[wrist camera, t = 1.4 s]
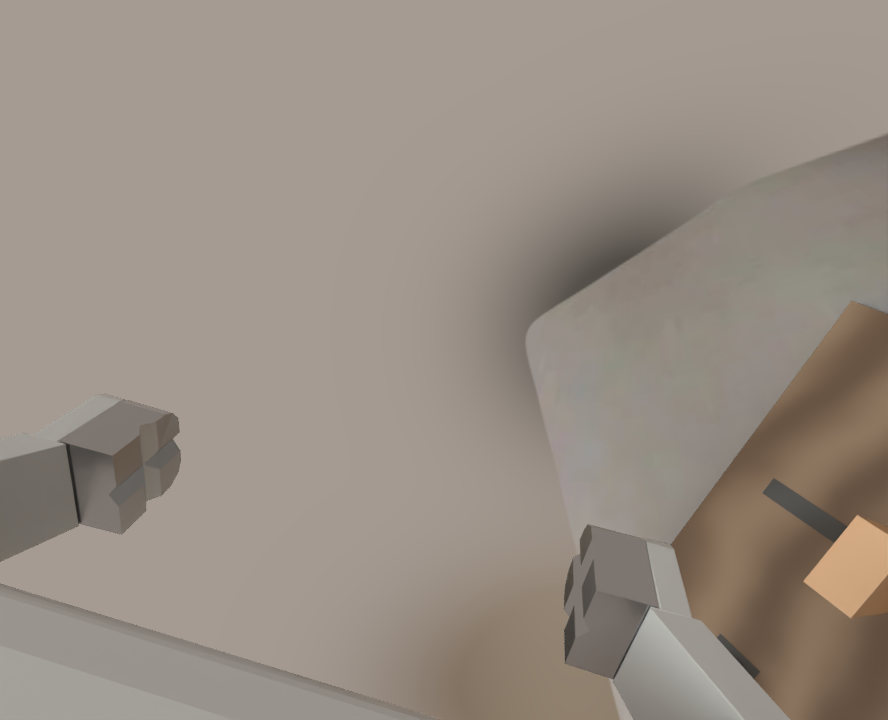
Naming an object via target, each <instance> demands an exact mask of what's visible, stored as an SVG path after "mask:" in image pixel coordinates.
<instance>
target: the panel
mask: <svg viewBox="0 0 888 720" xmlns="http://www.w3.org/2000/svg"><path fill="white" fill-rule="evenodd" d="M857 515H859V516H861V517H864V518H866V519H869V520H871V521H874V522H877V523H879V524H882V525H884V526H887V527H888V314H886V313H883V312H880V311H877V310H875V309H872V308H869V307H867V306H864V305H861V304H858V303H856V302H853V301H851V302H850V304H849V305H848V306H847V308H846V309H845V310H844V312H843V313H842V315H841V316H840V317H839V319H838V320H837V321H836V323H835V324H834V325H833V327H832V328H831V329H830V331H829V332H828V333H827V335H826V336H825V337H824V339H823V340H822V342H821V343H820V344H819V346H818V347H817V348H816V350H815V351H814V352H813V354H812V355H811V356H810V358H809V359H808V360H807V362H806V363H805V364H804V366H803V367H802V368H801V370H800V371H799V373H798V374H797V375H796V377H795V378H794V379H793V381H792V382H791V383H790V385H789V386H788V387H787V389H786V390H785V391H784V393H783V394H782V395H781V397H780V398H779V400H778V401H777V402H776V404H775V405H774V406H773V408H772V409H771V410H770V412H769V413H768V414H767V416H766V417H765V418H764V420H763V421H762V422H761V424H760V425H759V427H758V428H757V429H756V431H755V432H754V433H753V435H752V436H751V437H750V439H749V440H748V441H747V443H746V444H745V445H744V447H743V448H742V449H741V451H740V452H739V453H738V455H737V456H736V458H735V459H734V460H733V462H732V463H731V464H730V466H729V467H728V468H727V470H726V471H725V472H724V474H723V475H722V476H721V478H720V479H719V480H718V482H717V483H716V485H715V486H714V487H713V489H712V490H711V491H710V493H709V494H708V495H707V497H706V498H705V499H704V501H703V502H702V503H701V505H700V506H699V507H698V509H697V510H696V512H695V513H694V514H693V516H692V517H691V518H690V520H689V521H688V522H687V524H686V525H685V526H684V528H683V529H682V530H681V532H680V533H679V534H678V536H677V537H676V538H675V540H674V541H673V543H672V544H671V546H672V547H673V548H674V550H675V554H676V558H677V562H678V565H679V569H680V573H681V577H682V580H683V584H684V588H685V592H686V595H687V599H688V603H689V607H690V610H691V614H692V618H694V619H697V620H701V621H702V622H703V623H704V624H705V625H706V627H707V628H708V629H709V630H710V631H711V632H712V633H713V634H714V635H715V637H716V638H717V639H718V640H719V641H720V642H721V643H722V644H723V645H724V647H725V648H726V649H727V650H728V651H729V652H730V653H731V654H732V655H733V657H734V658H735V659H736V660H737V661H738V662H739V663H740V664H741V665H742V667H743V668H744V669H745V670H746V671H747V672H748V673H749V674H750V675H751V677H752V678H753V679H754V680H755V681H756V682H757V683H758V684H759V685H760V687H761V688H762V689H763V690H764V691H765V692H766V693H767V694H768V695H769V697H770V698H771V699H772V700H773V701H774V702H775V703H776V704H777V705H778V707H779V708H780V709H781V710H782V711H783V712H784V713H785V714H786V715H787V717H788V718H789V719H790V720H888V613H883V614H876V615H870V616H863V617H856V618H850V617H848V616H847V615H846V614H844V613H843V612H842V611H841V610H839V609H838V608H837V607H835V606H834V605H833V604H832V603H830V602H829V601H828V600H826V599H825V598H824V597H823V596H821V595H820V594H819V593H817V592H816V591H815V590H814V589H812V588H811V587H810V586H808V585H807V584H806V583H804V582H803V581H804V580H805V579H806V577H807V576H808V575H809V574H810V572H811V571H812V570H813V569H814V567H815V566H816V565H817V564H818V563H819V561H820V560H821V559H822V558H823V556H824V555H825V554H826V553H827V551H828V550H829V549H830V548H831V547H832V545H833V544H834V543H835V542H836V540H837V539H838V538H839V537H840V536H841V534H842V533H843V532H844V531H845V529H846V528H847V527H848V526H849V524H850V523H851V522H852V521H853V520H854V518H855V517H856V516H857Z"/></svg>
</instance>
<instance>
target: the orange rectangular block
mask: <svg viewBox="0 0 888 720" xmlns="http://www.w3.org/2000/svg"><path fill="white" fill-rule="evenodd" d="M803 582H804V583H806V584H807V585H808V586H810V587H811V588H812V589H814V590H815V591H816V592H817V593H819V594H820V595H821V596H823V597H824V598H825V599H826V600H828V601H829V602H830V603H832V604H833V605H834V606H835V607H837V608H838V609H839V610H841V611H842V612H843V613H844V614H846V615H847V616H848V617H850V618H856V617H863V616H870V615H876V614H883V613H888V527H887V526H884V525H882V524H879V523H877V522H874V521H871V520H869V519H866V518H864V517H861V516H859V515H857V516H856V517H855V518H854V520H853V521H852V522H851V523H850V524H849V526H848V527H847V528H846V529H845V531H844V532H843V533H842V534H841V536H840V537H839V538H838V539H837V540H836V542H835V543H834V544H833V545H832V547H831V548H830V549H829V550H828V551H827V553H826V554H825V555H824V556H823V558H822V559H821V560H820V561H819V563H818V564H817V565H816V566H815V567H814V569H813V570H812V571H811V572H810V574H809V575H808V576H807V577H806V579H805V580H804V581H803Z"/></svg>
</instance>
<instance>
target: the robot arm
mask: <svg viewBox="0 0 888 720" xmlns="http://www.w3.org/2000/svg"><path fill="white" fill-rule="evenodd" d="M178 433H179V421H178V418H177V416H175V415H174V414H173V413H170V412H167V411H163V410H160V409H157V408H153V407H150V406H147V405H143V404H140V403H136V402H133V401H129V400H124V399H121V398H118V397H114V396H111V395H107V394H100V395H95V396H94V397H93V398H91V399H89V400H87V401H86V402H84V403H83V404H81V405H79V406H78V407H76V408H75V409H73V410H72V411H70V412H68V413H67V414H65V415H63V416H62V417H60V418H59V419H57V420H55V421H54V422H52V423H50V424H49V425H47V426H46V427H44V428H42V429H41V430H39V431H38V432H36V433H34V434H33V435H31V434H28V433H22V434H17V435H13V436H9V437H4V438H0V562H1V561H3V560H5V559H7V558H10V557H12V556H14V555H16V554H18V553H21V552H23V551H25V550H27V549H29V548H31V547H34V546H36V545H38V544H40V543H42V542H45V541H47V540H49V539H51V538H53V537H56V536H58V535H60V534H62V533H64V532H67V531H69V530H71V529H73V528H75V527H78V526H79V524H83V525H87V526H90V527H94V528H98V529H102V530H106V531H110V532H113V533H117V534H123V533H124V532H125V531H126V530H127V529H128V528H129V527H130V526H131V525H132V524H133V523H134V522H135V521H136V520H137V519H138V518H139V517H140V516H141V515H142V514H143V513H144V512H145V511H146V501H148V500H151V499H154V498H156V497H159V496H161V495H163V494H164V492H165V491H166V490H167V489H168V488H169V487H170V486H171V485H172V483H173V481H174V479H175V477H176V476H177V474H178V471H179V467H180V461H181V453H180V449H179V448H178V446H177V445H176V443H175V442H174V440H173V438H174V437H175V436H176V435H177V434H178ZM564 610H565V611H566V613H567V614H568V616H569V619H568V622H567V625H566V627H565V630H564V641H565V642H564V645H565V664H567V665H570V666H573V667H576V668H580V669H583V670H586V671H589V672H592V673H595V674H598V675H601V676H604V677H608V678H611V679H614V681H613V683H614V685H615V686H616V688H617V690H618V692H619V694H620V696H621V697H622V699H623V701H624V703H625V705H626V706H627V708H628V710H629V712H630V714H631V716H632V717H633V719H634V720H790V719H789V718H788V717H787V715H786V714H785V713H784V712H783V711H782V710H781V709H780V708H779V707H778V705H777V704H776V703H775V702H774V701H773V700H772V699H771V698H770V697H769V695H768V694H767V693H766V692H765V691H764V690H763V689H762V688H761V687H760V685H759V684H758V683H757V682H756V681H755V680H754V679H753V678H752V677H751V675H750V674H749V673H748V672H747V671H746V670H745V669H744V668H743V667H742V665H741V664H740V663H739V662H738V661H737V660H736V659H735V658H734V657H733V655H732V654H731V653H730V652H729V651H728V650H727V649H726V648H725V647H724V645H723V644H722V643H721V642H720V641H719V640H718V639H717V638H716V637H715V635H714V634H713V633H712V632H711V631H710V630H709V629H708V628H707V627H706V625H705V624H704V623H703V622H702V621H701V620H697V619H694V618H692V614H691V610H690V607H689V603H688V599H687V595H686V592H685V588H684V584H683V580H682V577H681V573H680V569H679V565H678V562H677V558H676V554H675V550H674V548H673V547H672V546H671V545H670V544H666V543H662V542H658V541H654V540H650V539H646V538H639V537H635V536H631V535H627V534H623V533H620V532H616V531H612V530H608V529H604V528H600V527H597V526H593V525H589V524H588V525H587V526H586V528H585V529H584V531H583V534H582V536H581V538H580V554H579V555H577V556H575V557H574V558H573V559H572V562H571V565H570V568H569V571H568V575H567V580H566V584H565V594H564ZM0 720H443V719H440V718H436V717H433V716H430V715H427V714H423V713H420V712H417V711H414V710H410V709H407V708H404V707H401V706H397V705H394V704H391V703H388V702H384V701H381V700H378V699H375V698H371V697H368V696H365V695H361V694H358V693H355V692H352V691H348V690H345V689H342V688H339V687H335V686H332V685H329V684H326V683H322V682H319V681H316V680H313V679H309V678H306V677H303V676H300V675H296V674H293V673H290V672H287V671H283V670H280V669H277V668H274V667H270V666H267V665H264V664H260V663H257V662H254V661H251V660H248V659H244V658H241V657H238V656H235V655H231V654H228V653H225V652H221V651H218V650H215V649H212V648H208V647H205V646H202V645H198V644H196V643H192V642H189V641H185V640H183V639H179V638H176V637H173V636H169V635H166V634H163V633H160V632H156V631H153V630H150V629H146V628H143V627H140V626H137V625H134V624H130V623H127V622H124V621H120V620H117V619H114V618H111V617H108V616H104V615H101V614H98V613H95V612H91V611H88V610H85V609H82V608H78V607H75V606H72V605H68V604H65V603H62V602H59V601H55V600H52V599H49V598H46V597H42V596H39V595H36V594H32V593H29V592H26V591H23V590H19V589H16V588H13V587H10V586H6V585H3V584H0Z"/></svg>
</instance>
